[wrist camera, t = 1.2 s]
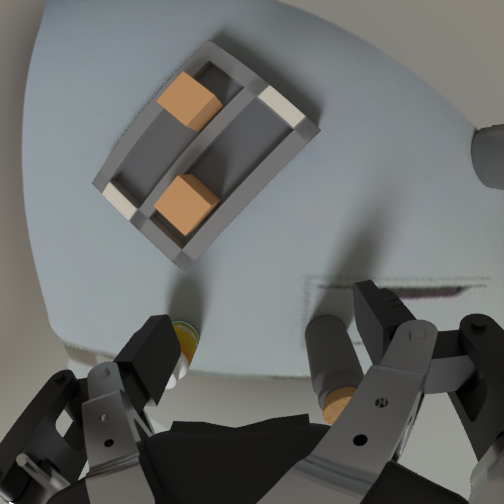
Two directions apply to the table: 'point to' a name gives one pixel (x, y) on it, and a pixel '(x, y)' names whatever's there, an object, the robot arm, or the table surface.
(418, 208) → the table surface
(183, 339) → the supplement bottle
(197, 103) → the tan square block
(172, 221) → the orange rectangular block
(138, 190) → the tray
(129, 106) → the table surface
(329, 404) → the bottle
